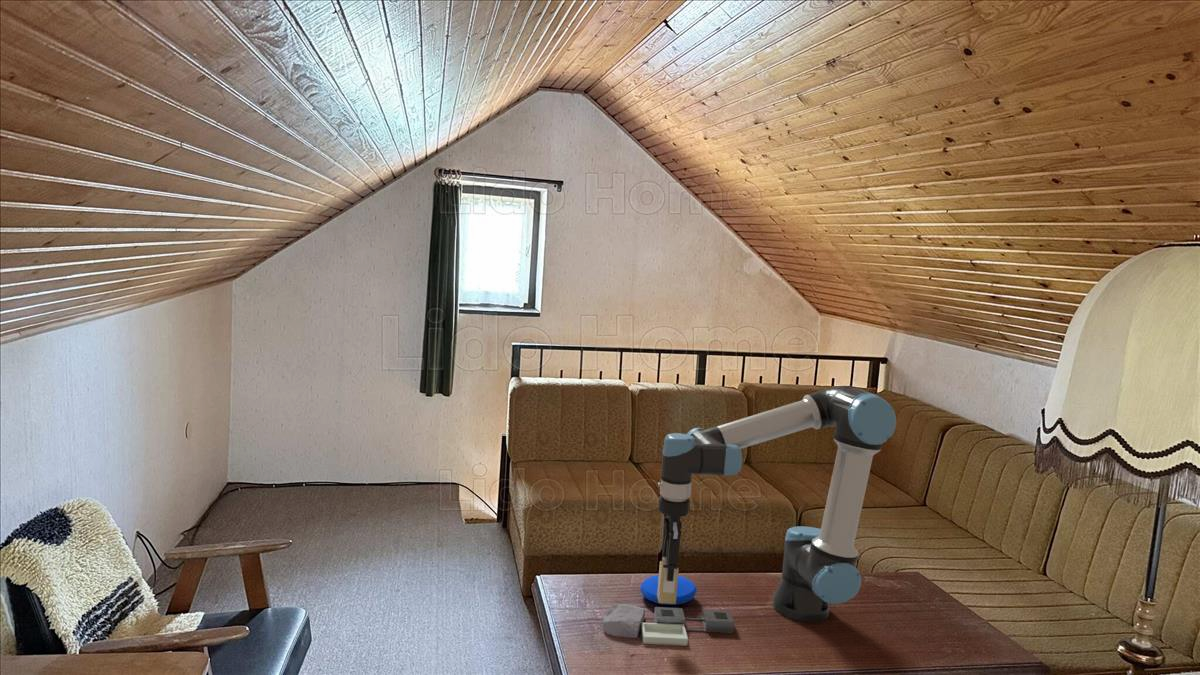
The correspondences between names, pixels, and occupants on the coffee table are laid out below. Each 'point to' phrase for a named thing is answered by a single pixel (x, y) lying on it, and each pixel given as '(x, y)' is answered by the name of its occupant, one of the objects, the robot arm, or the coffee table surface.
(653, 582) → the blue funnel disc
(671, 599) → the wooden drawer with knob
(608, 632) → the stone block
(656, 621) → the rack rail
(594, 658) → the coffee table surface
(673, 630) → the parts tray
